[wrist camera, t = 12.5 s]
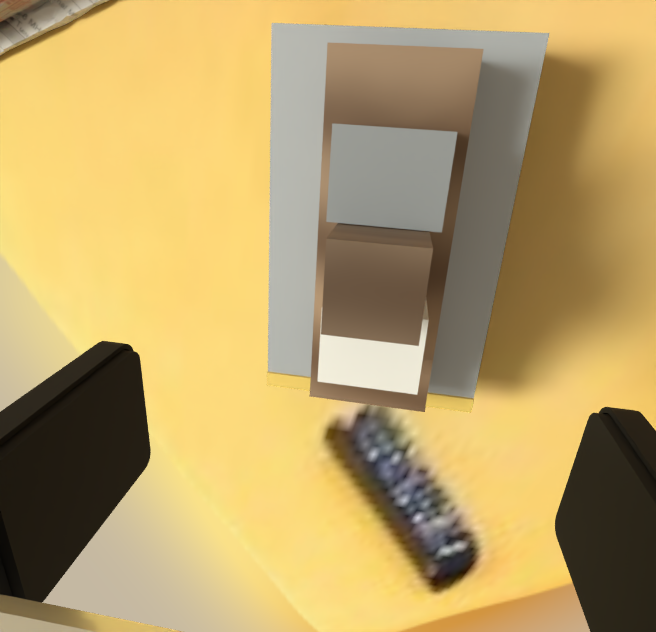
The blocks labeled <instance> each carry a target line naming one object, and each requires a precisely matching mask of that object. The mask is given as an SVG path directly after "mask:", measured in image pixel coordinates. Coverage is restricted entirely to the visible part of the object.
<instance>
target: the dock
mask: <svg viewBox="0 0 656 632" xmlns="http://www.w3.org/2000/svg"><path fill="white" fill-rule="evenodd" d="M548 37H549V33H529V32H502V31H475V30H448V29H420V28H393V27H366V26H339V25H312V24H284V23H272V45H271V138H270V231H269V324H268V372H267V385H269V386H276V387H284V388H291V389H298V390H306V391H310V379H311V360H312V340H313V320H314V300H315V280H316V261H317V241H318V221H319V201H320V181H321V162H322V142H323V122H324V102H325V82H326V63H327V43H328V42H329V43H353V44H378V45H402V46H426V47H451V48H475V49H484V50H483V56H482V62H481V68H480V74H479V80H478V86H477V93H476V99H475V105H474V111H473V117H472V123H471V130H470V136H469V142H468V148H467V154H466V160H465V166H464V173H463V179H462V185H461V191H460V197H459V203H458V210H457V216H456V222H455V228H454V234H453V240H452V246H451V253H450V259H449V265H448V271H447V277H446V283H445V289H444V296H443V302H442V308H441V314H440V320H439V326H438V333H437V339H436V345H435V351H434V357H433V363H432V369H431V376H430V382H429V388H428V394H427V400H426V406H425V407H432V408H440V409H447V410H454V411H462V412H469V413H471V412H472V407H473V402H474V394H475V389H476V384H477V379H478V374H479V369H480V365H481V360H482V355H483V350H484V345H485V341H486V336H487V331H488V326H489V321H490V316H491V312H492V307H493V302H494V297H495V292H496V288H497V283H498V278H499V273H500V268H501V263H502V259H503V254H504V249H505V244H506V239H507V235H508V230H509V225H510V220H511V215H512V210H513V206H514V201H515V196H516V191H517V186H518V182H519V177H520V172H521V167H522V162H523V157H524V153H525V148H526V143H527V138H528V133H529V129H530V124H531V119H532V114H533V109H534V104H535V100H536V95H537V90H538V85H539V80H540V75H541V71H542V66H543V61H544V56H545V51H546V47H547V42H548Z"/></svg>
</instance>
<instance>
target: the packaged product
mask: <svg viewBox="0 0 656 632" xmlns="http://www.w3.org/2000/svg"><path fill="white" fill-rule="evenodd" d="M107 1H109V0H0V55H2V54H4V53H5V52H7V51H8V50H11V49H13V48H15V47H17V46H19V45H21V44H24V43H26V42H28V41H30V40H32V39H34V38H36V37H39V36H41V35H42V34H44V33H46V32H48V31H50V30H53V29H56V28H58V27H61V26H63V25H66V24H68V23H69V22H71V21H73V20H74V19H77V18H79V17H81V16H82V15H83V14H85V13H86V12H88V11H89V10H91V9H92V8H94V7H95V6H97V5H100V4H102V3H104V2H107Z"/></svg>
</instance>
